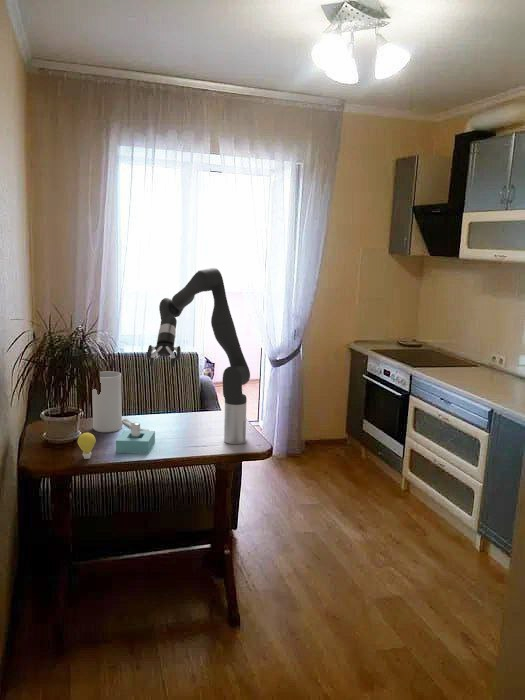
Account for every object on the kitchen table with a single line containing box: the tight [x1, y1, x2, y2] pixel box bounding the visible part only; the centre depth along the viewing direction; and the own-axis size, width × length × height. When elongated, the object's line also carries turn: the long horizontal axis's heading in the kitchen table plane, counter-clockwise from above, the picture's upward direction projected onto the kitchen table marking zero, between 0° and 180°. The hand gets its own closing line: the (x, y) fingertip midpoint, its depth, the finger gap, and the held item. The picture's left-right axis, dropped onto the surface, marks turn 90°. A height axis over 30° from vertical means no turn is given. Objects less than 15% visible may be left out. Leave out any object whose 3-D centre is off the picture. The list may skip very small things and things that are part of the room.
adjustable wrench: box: [122, 418, 150, 431], centre depth 255 cm, size 25×6×2 cm, turn 31°
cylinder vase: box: [91, 370, 123, 433], centre depth 251 cm, size 12×12×25 cm
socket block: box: [115, 429, 156, 454], centre depth 230 cm, size 13×13×5 cm
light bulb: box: [77, 432, 97, 460], centre depth 217 cm, size 7×7×10 cm
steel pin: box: [130, 422, 141, 438], centre depth 230 cm, size 4×4×10 cm
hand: (162, 366), depth 241 cm, fingers open, 8 cm apart
